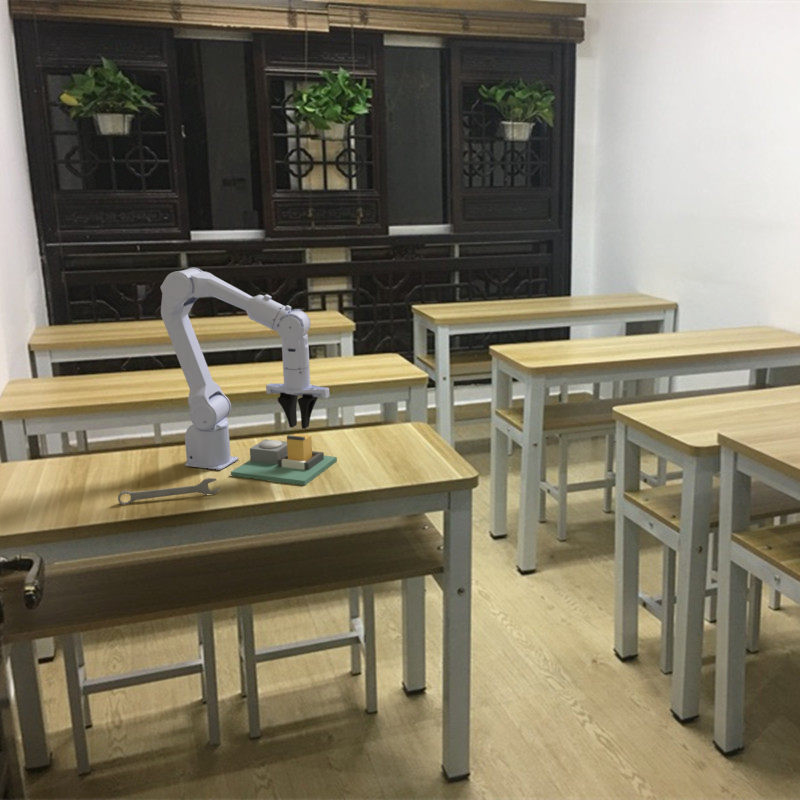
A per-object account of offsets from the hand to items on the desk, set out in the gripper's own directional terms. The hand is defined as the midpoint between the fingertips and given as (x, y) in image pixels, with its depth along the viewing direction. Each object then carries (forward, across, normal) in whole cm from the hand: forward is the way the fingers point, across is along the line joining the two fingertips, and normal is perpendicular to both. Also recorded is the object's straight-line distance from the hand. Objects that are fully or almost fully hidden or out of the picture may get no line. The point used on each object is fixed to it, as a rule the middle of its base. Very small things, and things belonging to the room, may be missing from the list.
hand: (299, 426), depth 176 cm
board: (+9, -3, -2) cm, 10 cm away
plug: (+8, 0, 0) cm, 8 cm away
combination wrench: (+10, -17, -25) cm, 32 cm away
